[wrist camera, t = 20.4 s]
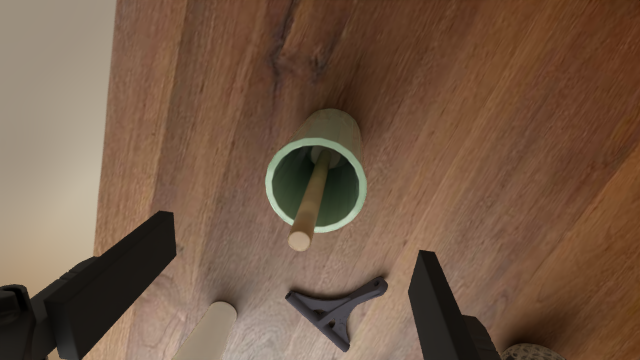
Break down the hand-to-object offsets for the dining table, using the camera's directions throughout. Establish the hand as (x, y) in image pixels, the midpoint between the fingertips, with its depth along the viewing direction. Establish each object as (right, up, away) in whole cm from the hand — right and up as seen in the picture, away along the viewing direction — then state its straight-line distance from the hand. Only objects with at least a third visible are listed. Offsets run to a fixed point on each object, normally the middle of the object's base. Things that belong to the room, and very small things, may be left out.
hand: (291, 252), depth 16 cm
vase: (+3, +9, +25) cm, 27 cm away
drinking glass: (-16, -19, +38) cm, 45 cm away
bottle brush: (+3, +9, +24) cm, 26 cm away
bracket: (+6, -16, +34) cm, 38 cm away
